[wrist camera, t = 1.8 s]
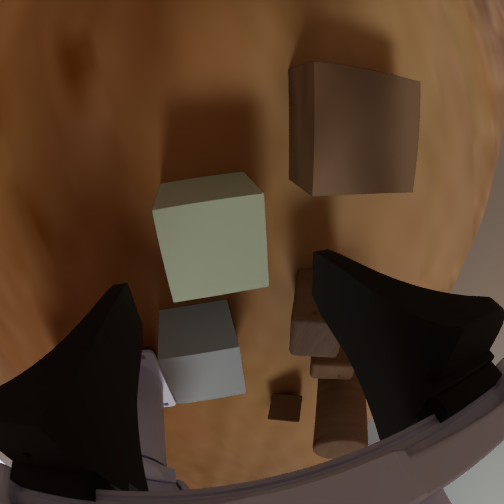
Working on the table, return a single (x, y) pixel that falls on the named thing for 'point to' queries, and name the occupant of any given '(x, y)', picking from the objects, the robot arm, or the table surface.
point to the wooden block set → (324, 380)
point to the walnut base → (352, 130)
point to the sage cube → (212, 235)
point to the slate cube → (200, 352)
